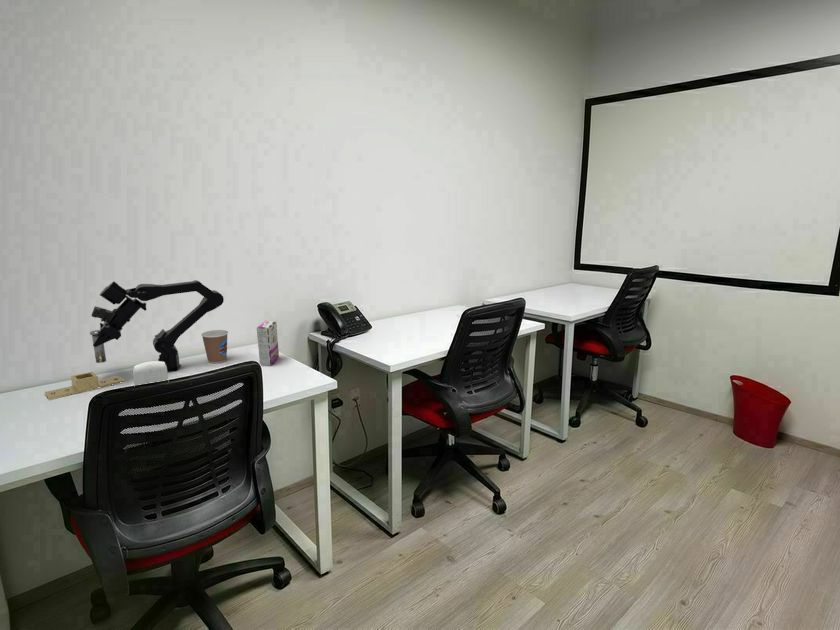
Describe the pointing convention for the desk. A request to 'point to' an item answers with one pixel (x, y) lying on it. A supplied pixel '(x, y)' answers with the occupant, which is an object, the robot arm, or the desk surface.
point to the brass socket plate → (83, 384)
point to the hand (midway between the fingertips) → (94, 344)
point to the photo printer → (150, 372)
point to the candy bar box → (267, 342)
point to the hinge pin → (98, 348)
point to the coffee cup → (215, 345)
